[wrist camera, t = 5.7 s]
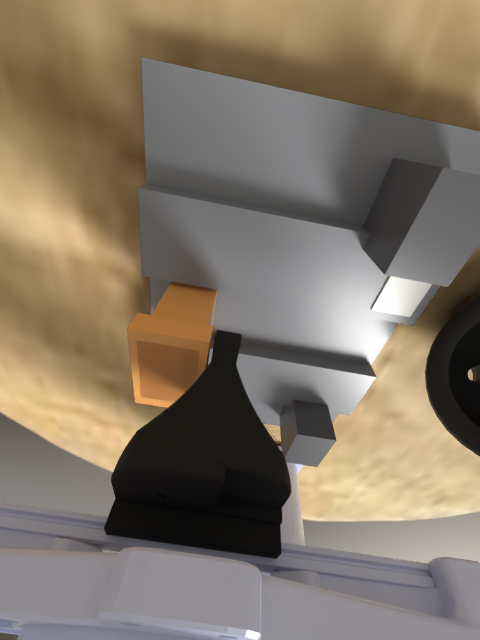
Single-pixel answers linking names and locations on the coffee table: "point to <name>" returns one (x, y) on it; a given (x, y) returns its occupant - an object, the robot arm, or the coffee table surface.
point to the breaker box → (301, 231)
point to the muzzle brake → (457, 374)
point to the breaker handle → (171, 344)
